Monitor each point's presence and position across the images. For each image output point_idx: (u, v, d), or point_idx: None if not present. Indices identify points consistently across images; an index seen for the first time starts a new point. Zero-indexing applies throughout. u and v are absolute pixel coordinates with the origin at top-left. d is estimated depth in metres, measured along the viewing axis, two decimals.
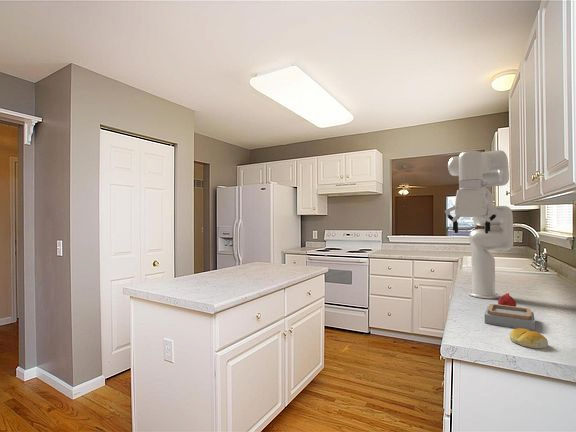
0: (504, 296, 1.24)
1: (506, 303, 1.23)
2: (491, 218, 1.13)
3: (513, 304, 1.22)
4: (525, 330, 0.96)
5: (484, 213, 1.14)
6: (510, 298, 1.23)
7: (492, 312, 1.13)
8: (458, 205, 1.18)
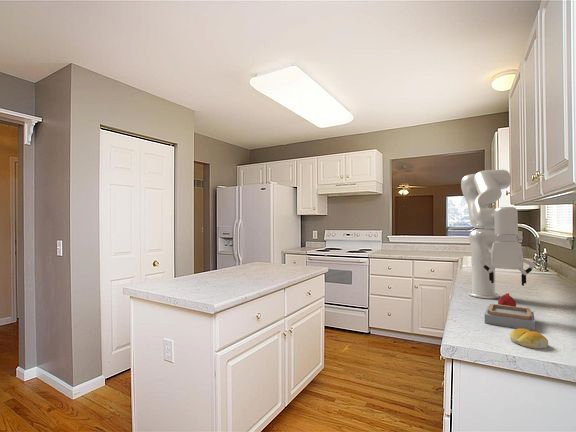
0: (504, 296, 1.24)
1: (506, 303, 1.23)
2: (527, 271, 1.20)
3: (513, 304, 1.22)
4: (525, 330, 0.96)
5: (520, 266, 1.20)
6: (510, 298, 1.23)
7: (492, 312, 1.13)
8: (494, 257, 1.25)
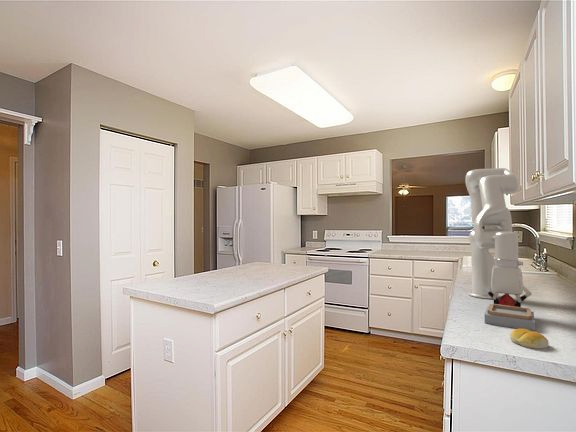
0: (504, 296, 1.24)
1: (506, 303, 1.23)
2: (522, 299, 1.21)
3: (513, 304, 1.22)
4: (526, 330, 0.96)
5: (520, 292, 1.21)
6: (510, 298, 1.23)
7: (492, 312, 1.13)
8: (494, 282, 1.25)
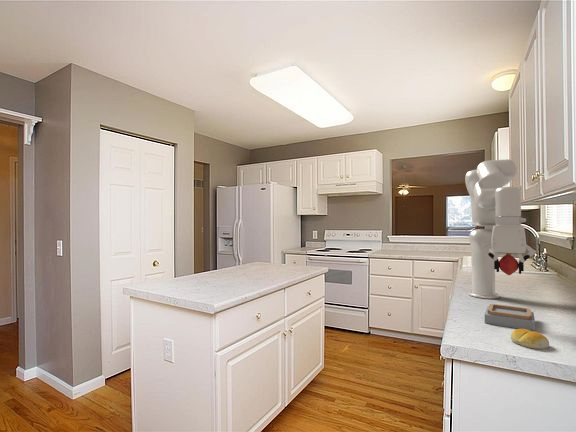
0: (505, 256, 1.15)
1: (508, 263, 1.13)
2: (525, 258, 1.12)
3: (515, 264, 1.12)
4: (526, 330, 0.96)
5: (523, 251, 1.11)
6: (512, 258, 1.13)
7: (492, 312, 1.13)
8: (495, 241, 1.16)
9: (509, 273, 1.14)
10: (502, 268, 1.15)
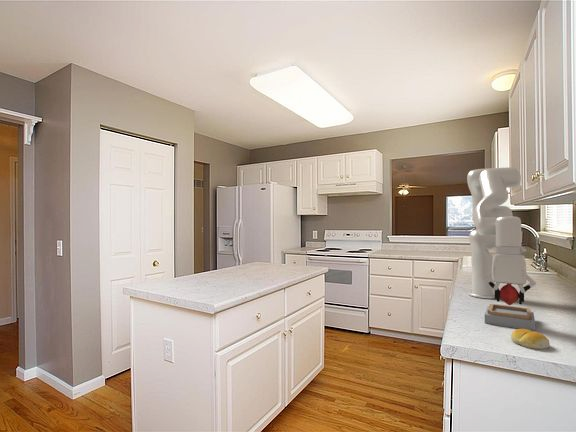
0: (506, 286, 1.15)
1: (508, 293, 1.13)
2: (525, 289, 1.12)
3: (516, 295, 1.12)
4: (526, 330, 0.95)
5: (524, 281, 1.11)
6: (512, 288, 1.13)
7: (492, 312, 1.13)
8: (495, 271, 1.15)
9: (509, 303, 1.14)
10: (502, 298, 1.14)
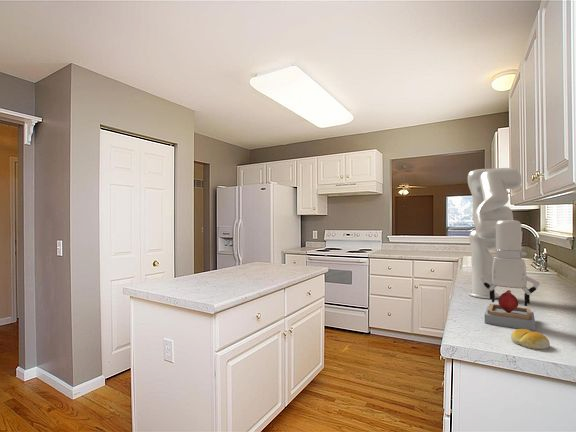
0: (505, 294, 1.15)
1: (507, 301, 1.13)
2: (531, 291, 1.11)
3: (515, 302, 1.12)
4: (526, 331, 0.95)
5: (524, 285, 1.11)
6: (512, 296, 1.14)
7: (492, 312, 1.13)
8: (495, 274, 1.15)
9: (508, 311, 1.14)
10: (502, 305, 1.15)
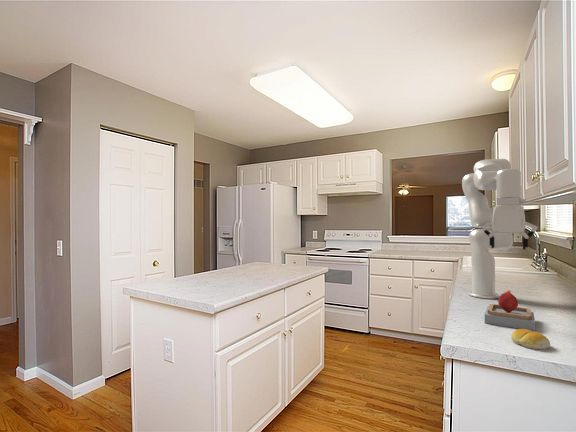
0: (505, 294, 1.15)
1: (507, 301, 1.13)
2: (529, 235, 1.16)
3: (515, 302, 1.13)
4: (527, 331, 0.95)
5: (522, 230, 1.17)
6: (511, 296, 1.14)
7: (492, 312, 1.13)
8: (496, 221, 1.21)
9: (508, 311, 1.14)
10: (501, 306, 1.15)
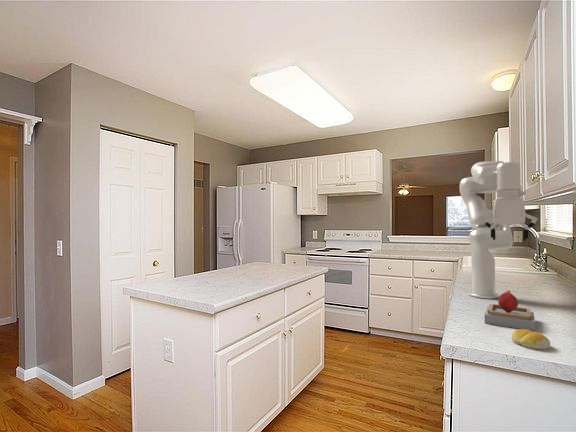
0: (505, 294, 1.15)
1: (507, 301, 1.13)
2: (529, 226, 1.19)
3: (515, 302, 1.13)
4: (527, 331, 0.95)
5: (523, 221, 1.19)
6: (511, 296, 1.14)
7: (492, 312, 1.13)
8: (496, 213, 1.24)
9: (508, 311, 1.14)
10: (501, 306, 1.15)
